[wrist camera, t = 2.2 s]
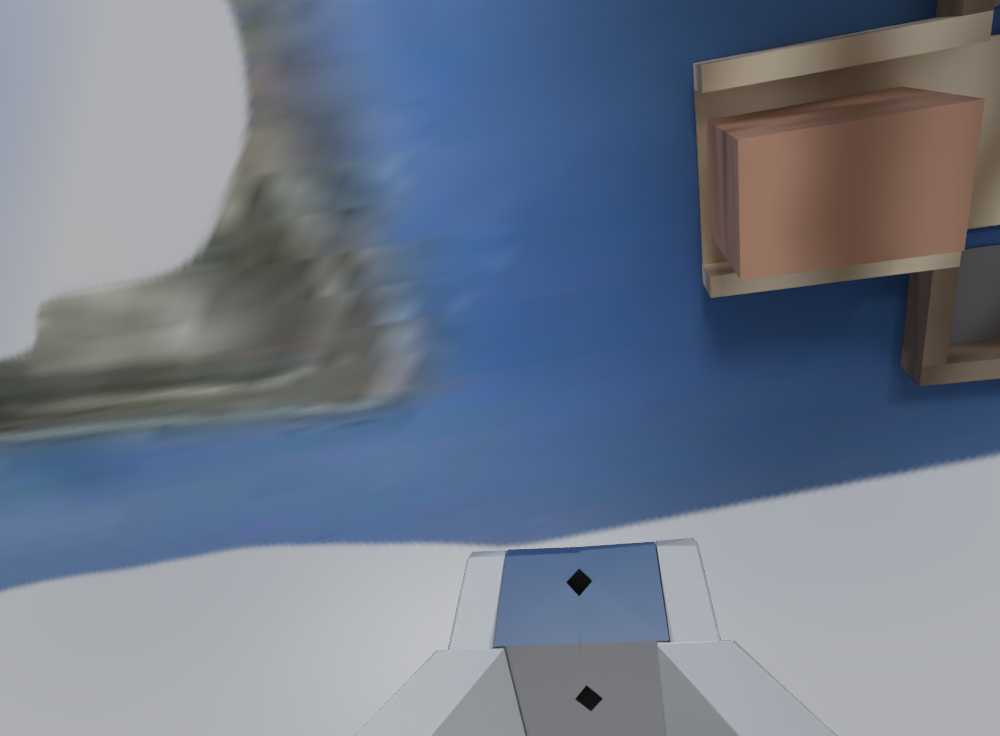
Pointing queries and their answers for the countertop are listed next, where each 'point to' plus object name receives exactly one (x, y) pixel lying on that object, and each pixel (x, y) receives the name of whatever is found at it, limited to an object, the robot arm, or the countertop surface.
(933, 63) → the wooden cross frame
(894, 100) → the mahogany brick
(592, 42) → the countertop surface
